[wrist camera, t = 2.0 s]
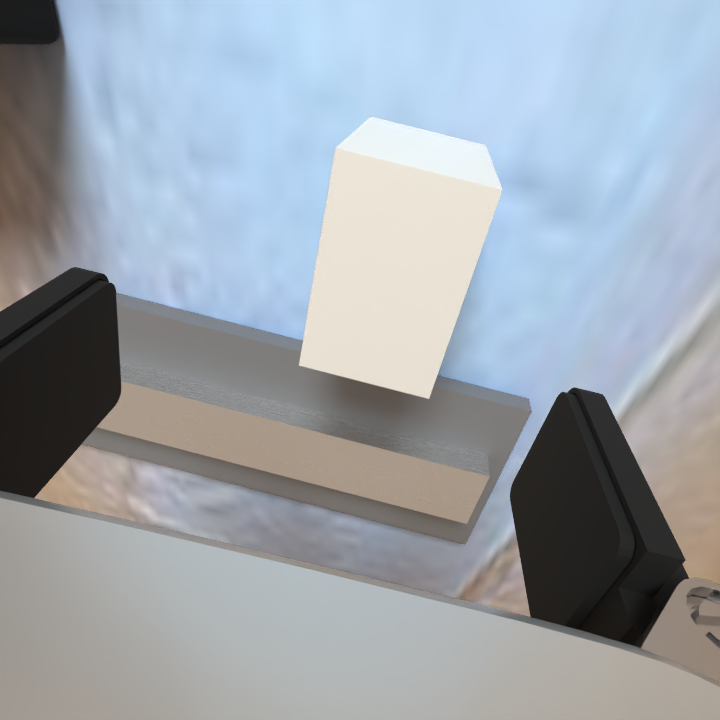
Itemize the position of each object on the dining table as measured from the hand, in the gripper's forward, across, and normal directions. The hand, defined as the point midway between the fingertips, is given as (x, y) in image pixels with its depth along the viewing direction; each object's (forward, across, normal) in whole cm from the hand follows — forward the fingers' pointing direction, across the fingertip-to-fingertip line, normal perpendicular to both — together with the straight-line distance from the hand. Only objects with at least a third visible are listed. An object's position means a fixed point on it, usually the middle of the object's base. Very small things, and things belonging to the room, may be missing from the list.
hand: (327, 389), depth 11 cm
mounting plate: (+13, +3, +12) cm, 18 cm away
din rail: (+13, +3, +12) cm, 18 cm away
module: (+13, -1, 0) cm, 13 cm away
